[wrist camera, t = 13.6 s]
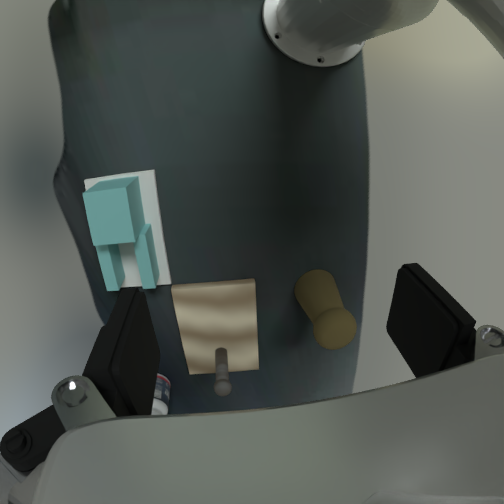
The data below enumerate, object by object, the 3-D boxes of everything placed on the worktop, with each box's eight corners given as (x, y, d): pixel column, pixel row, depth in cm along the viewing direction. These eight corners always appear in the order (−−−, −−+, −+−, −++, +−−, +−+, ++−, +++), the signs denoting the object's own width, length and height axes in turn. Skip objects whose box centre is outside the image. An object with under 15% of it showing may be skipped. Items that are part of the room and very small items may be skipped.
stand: (172, 284, 43) (162, 329, 34) (254, 278, 43) (263, 322, 35) (190, 369, 49) (187, 415, 41) (258, 363, 50) (265, 409, 42)
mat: (86, 179, 35) (84, 180, 35) (154, 169, 36) (153, 170, 35) (109, 285, 42) (108, 288, 41) (171, 281, 42) (171, 284, 42)
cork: (323, 310, 47) (346, 360, 37) (286, 300, 45) (304, 352, 35) (342, 276, 45) (373, 323, 35) (305, 263, 43) (330, 311, 33)
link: (94, 181, 35) (77, 194, 30) (144, 175, 35) (132, 186, 30) (114, 277, 41) (102, 299, 36) (159, 274, 41) (152, 297, 36)
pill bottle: (169, 393, 52) (165, 434, 44) (140, 388, 51) (133, 428, 43) (171, 374, 50) (167, 416, 42) (140, 369, 49) (132, 410, 41)
